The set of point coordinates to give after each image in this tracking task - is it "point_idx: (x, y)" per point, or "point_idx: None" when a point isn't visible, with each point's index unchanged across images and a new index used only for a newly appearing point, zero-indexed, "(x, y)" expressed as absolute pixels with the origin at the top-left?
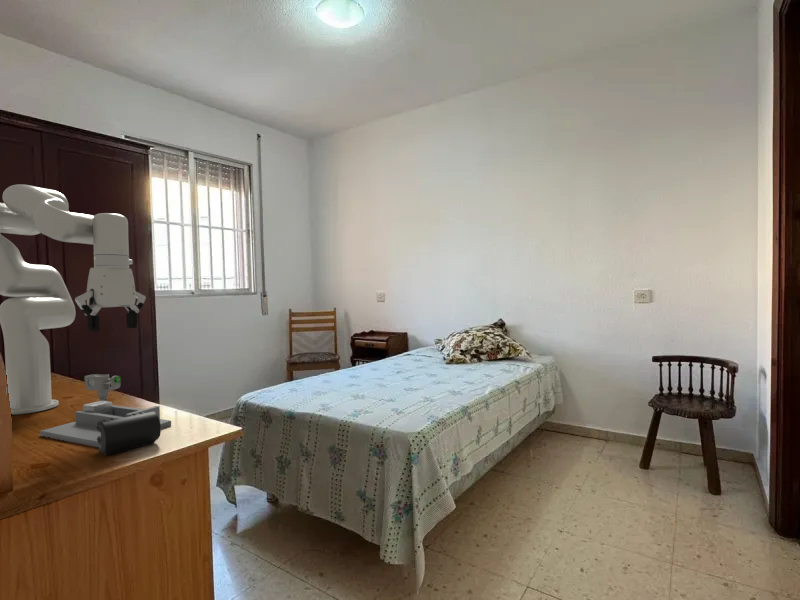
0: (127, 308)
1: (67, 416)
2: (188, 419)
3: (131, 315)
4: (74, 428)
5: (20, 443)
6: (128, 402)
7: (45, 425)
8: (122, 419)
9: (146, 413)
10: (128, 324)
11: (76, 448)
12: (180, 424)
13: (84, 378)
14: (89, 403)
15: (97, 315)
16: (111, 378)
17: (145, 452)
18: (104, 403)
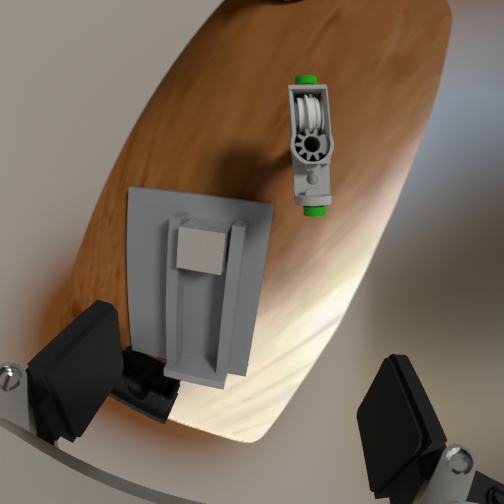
0: (416, 500)
1: (252, 91)
2: (286, 374)
3: (382, 469)
4: (156, 242)
5: (102, 194)
6: (394, 134)
7: (185, 116)
8: (123, 402)
9: (153, 417)
10: (383, 387)
11: (120, 309)
12: (256, 379)
13: (295, 78)
14: (193, 229)
15: (67, 439)
16: (299, 199)
17: None
18: (203, 269)
